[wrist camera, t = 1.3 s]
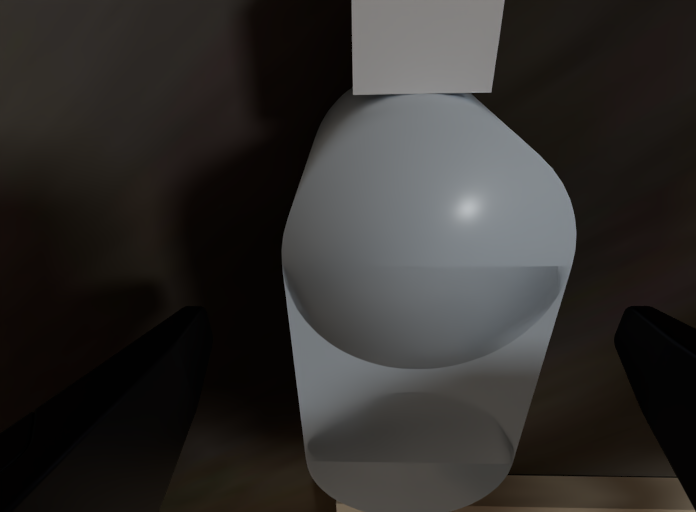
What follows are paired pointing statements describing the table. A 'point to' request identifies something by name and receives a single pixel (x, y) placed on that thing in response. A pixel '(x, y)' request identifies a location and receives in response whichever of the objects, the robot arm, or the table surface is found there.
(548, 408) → the table surface
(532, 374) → the usb stick
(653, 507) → the birch board
